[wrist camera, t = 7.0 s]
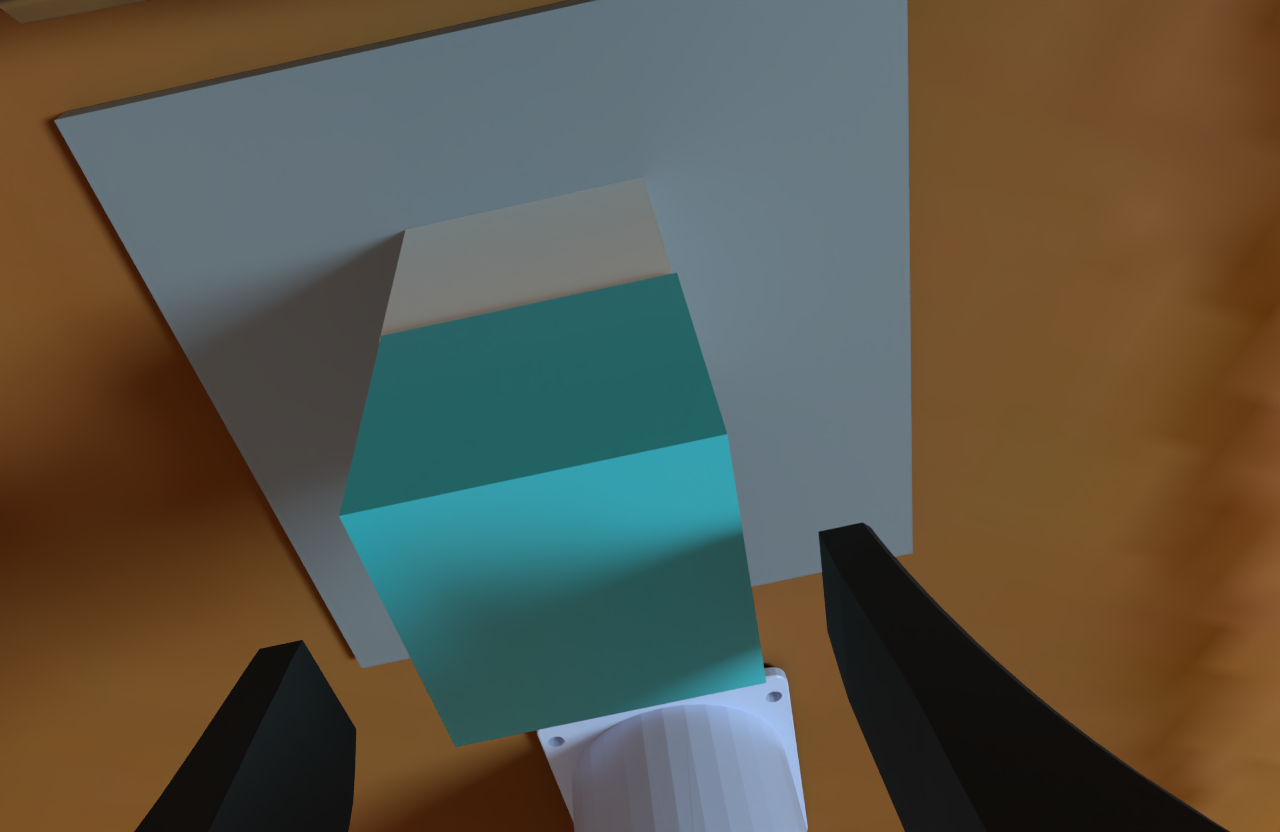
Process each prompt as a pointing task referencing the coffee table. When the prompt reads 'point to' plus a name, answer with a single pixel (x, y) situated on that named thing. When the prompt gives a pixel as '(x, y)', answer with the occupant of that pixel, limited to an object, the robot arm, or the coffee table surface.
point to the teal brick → (555, 512)
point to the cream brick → (525, 255)
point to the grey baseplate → (530, 171)
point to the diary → (55, 8)
